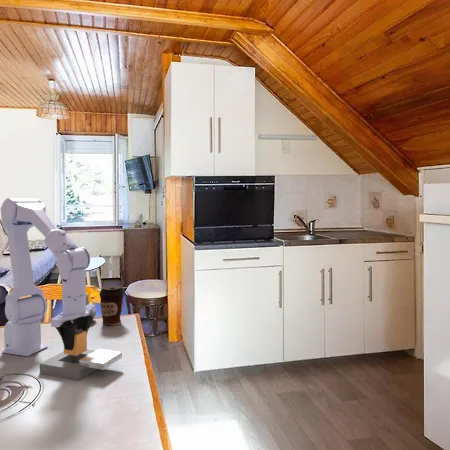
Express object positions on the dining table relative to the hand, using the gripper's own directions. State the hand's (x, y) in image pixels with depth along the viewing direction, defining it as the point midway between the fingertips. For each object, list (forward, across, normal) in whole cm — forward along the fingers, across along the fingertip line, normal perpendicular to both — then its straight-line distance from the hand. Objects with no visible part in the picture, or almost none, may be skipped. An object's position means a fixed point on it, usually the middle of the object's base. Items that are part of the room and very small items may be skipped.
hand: (75, 346), depth 104 cm
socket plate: (+6, 0, 0) cm, 6 cm away
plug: (+2, 0, 0) cm, 2 cm away
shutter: (+3, 0, -8) cm, 9 cm away
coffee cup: (+6, +35, +13) cm, 38 cm away
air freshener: (+6, +33, +25) cm, 42 cm away
